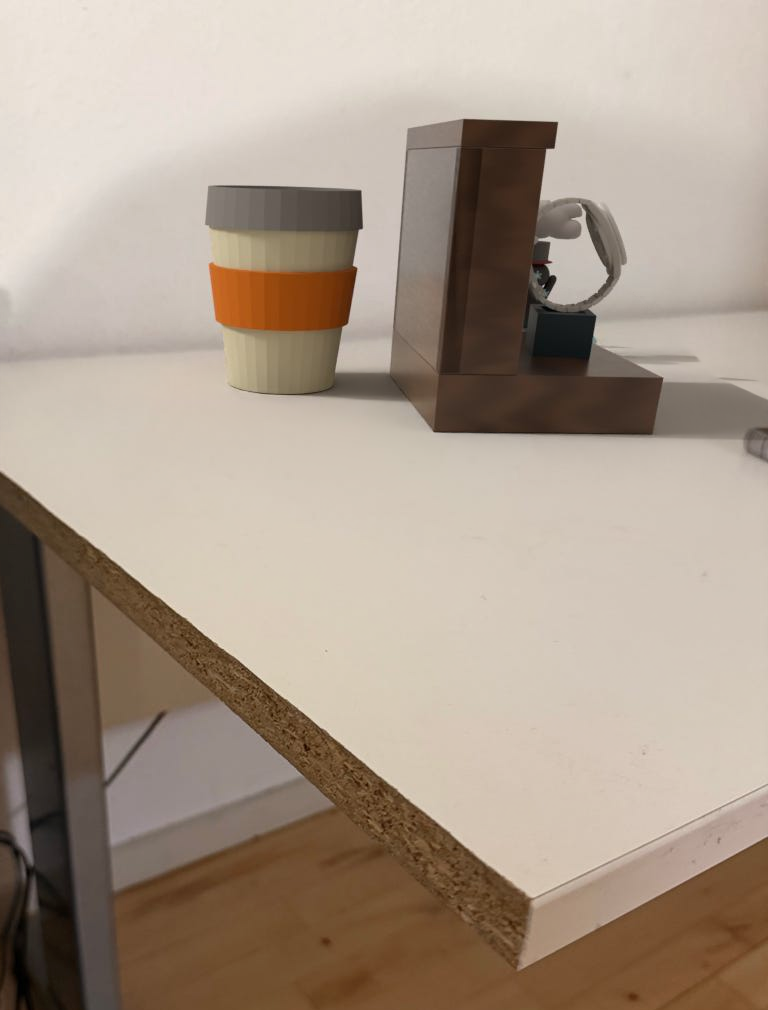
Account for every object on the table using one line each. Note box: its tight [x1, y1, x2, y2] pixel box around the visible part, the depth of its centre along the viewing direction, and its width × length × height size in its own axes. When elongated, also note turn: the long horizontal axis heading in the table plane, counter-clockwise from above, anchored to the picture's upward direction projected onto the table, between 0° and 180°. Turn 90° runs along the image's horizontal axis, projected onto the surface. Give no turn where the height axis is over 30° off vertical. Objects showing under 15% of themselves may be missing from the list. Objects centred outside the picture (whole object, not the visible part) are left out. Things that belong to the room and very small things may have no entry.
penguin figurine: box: [523, 199, 598, 345], centre depth 94 cm, size 20×11×15 cm, turn 78°
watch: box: [525, 197, 628, 359], centre depth 73 cm, size 6×8×11 cm
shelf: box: [389, 118, 664, 435], centre depth 72 cm, size 16×20×20 cm
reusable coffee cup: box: [204, 184, 364, 395], centre depth 78 cm, size 12×13×15 cm
